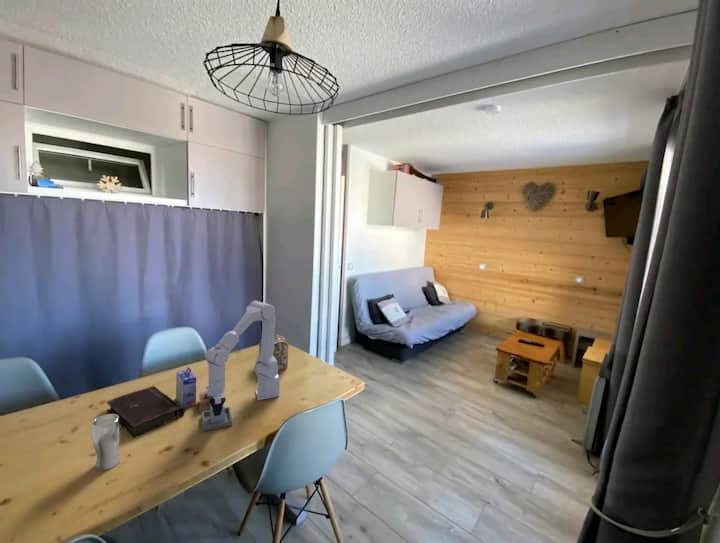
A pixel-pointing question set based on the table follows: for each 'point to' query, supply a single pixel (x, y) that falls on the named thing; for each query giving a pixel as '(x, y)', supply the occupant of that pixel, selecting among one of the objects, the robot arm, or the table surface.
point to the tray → (208, 426)
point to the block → (217, 418)
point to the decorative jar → (279, 351)
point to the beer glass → (106, 441)
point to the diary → (144, 410)
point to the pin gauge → (207, 394)
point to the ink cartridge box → (186, 388)
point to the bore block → (204, 402)
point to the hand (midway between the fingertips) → (217, 411)
